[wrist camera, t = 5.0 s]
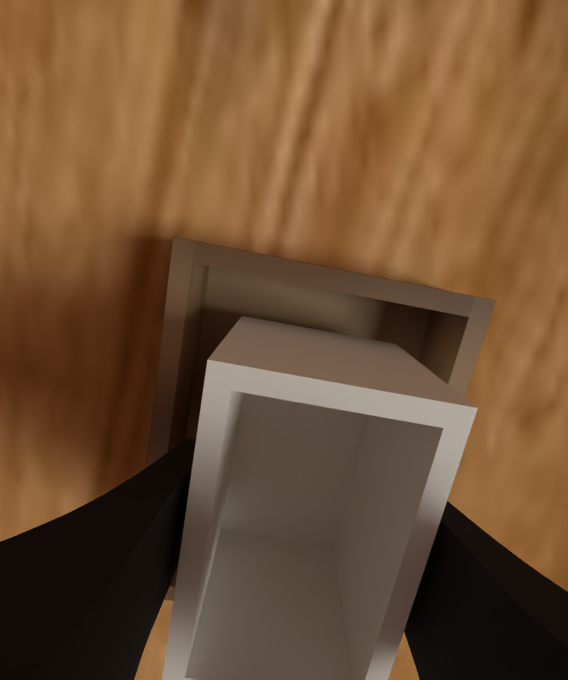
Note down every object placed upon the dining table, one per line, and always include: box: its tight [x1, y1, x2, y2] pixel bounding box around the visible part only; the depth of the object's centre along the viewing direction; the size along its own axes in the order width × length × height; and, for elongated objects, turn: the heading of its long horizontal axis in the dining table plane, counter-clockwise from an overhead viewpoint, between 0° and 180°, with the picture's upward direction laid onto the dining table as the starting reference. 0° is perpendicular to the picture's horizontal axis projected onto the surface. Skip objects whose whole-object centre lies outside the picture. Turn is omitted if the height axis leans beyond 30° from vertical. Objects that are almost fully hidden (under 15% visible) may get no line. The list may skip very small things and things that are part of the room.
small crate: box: [162, 316, 478, 680], centre depth 10 cm, size 8×5×5 cm, turn 170°
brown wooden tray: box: [146, 237, 496, 601], centre depth 13 cm, size 12×9×3 cm
